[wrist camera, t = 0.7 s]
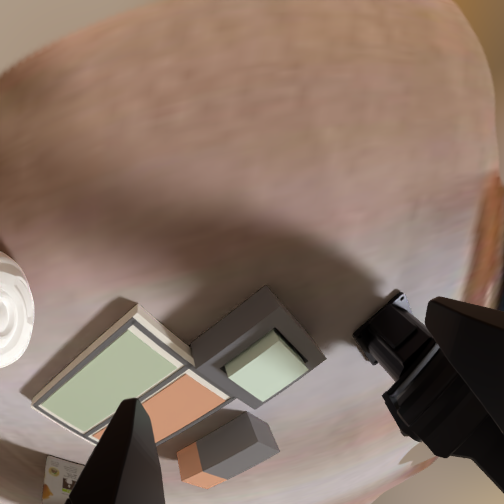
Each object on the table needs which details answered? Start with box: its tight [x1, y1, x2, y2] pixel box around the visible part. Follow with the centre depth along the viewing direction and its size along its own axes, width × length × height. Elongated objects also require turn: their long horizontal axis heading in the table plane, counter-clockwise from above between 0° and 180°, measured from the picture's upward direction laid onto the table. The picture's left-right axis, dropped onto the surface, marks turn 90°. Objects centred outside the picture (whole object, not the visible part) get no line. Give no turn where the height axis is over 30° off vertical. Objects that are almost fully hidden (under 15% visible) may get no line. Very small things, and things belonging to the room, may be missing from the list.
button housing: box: [190, 285, 327, 409], centre depth 23 cm, size 7×7×3 cm
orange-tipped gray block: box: [177, 411, 280, 489], centre depth 27 cm, size 4×10×4 cm, turn 125°
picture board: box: [31, 304, 236, 446], centre depth 23 cm, size 12×16×1 cm
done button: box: [224, 328, 309, 402], centre depth 22 cm, size 4×4×2 cm
